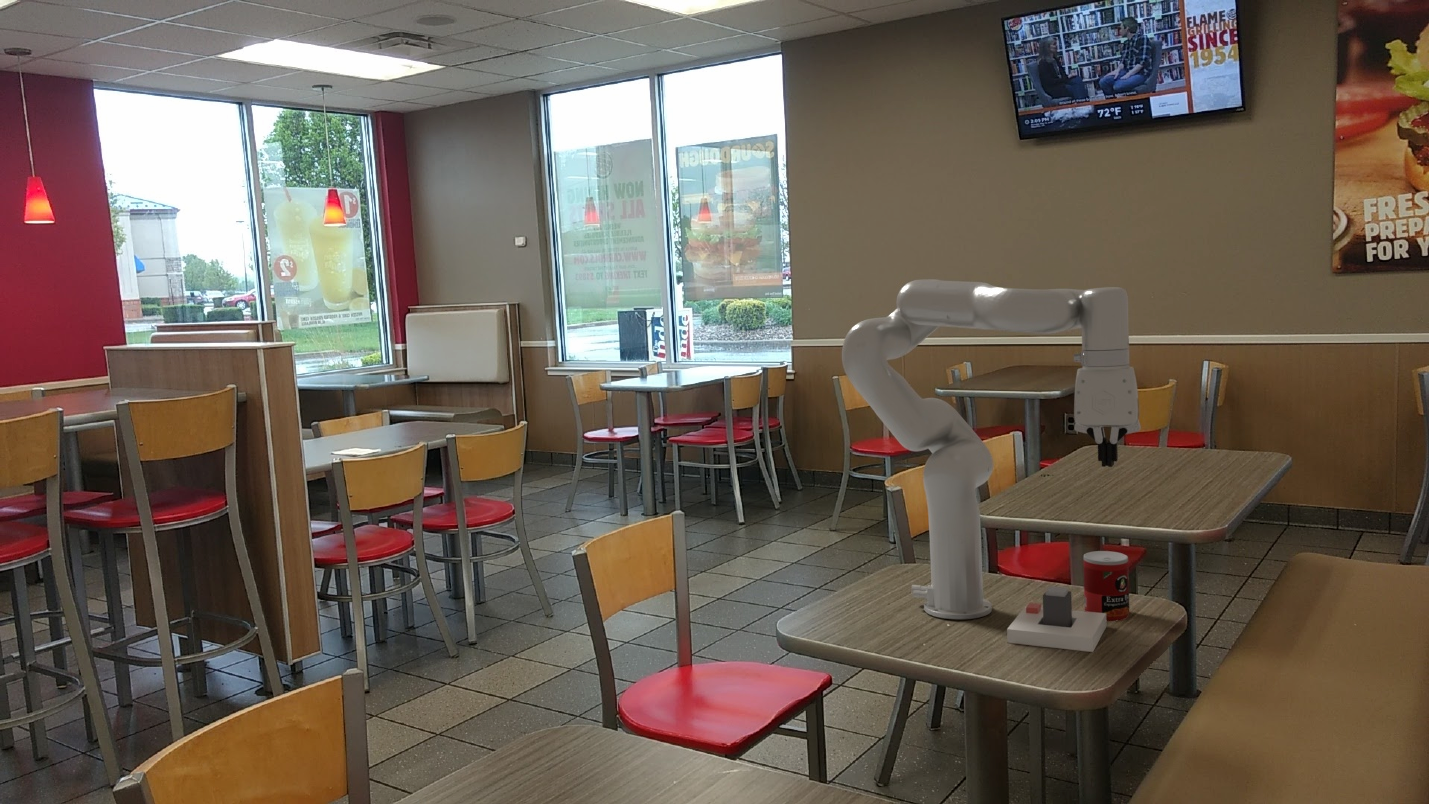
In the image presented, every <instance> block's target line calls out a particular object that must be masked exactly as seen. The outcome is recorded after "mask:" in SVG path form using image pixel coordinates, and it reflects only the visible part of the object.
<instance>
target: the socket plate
mask: <svg viewBox="0 0 1429 804" xmlns="http://www.w3.org/2000/svg"><path fill="white" fill-rule="evenodd" d="M1106 628H1107V621H1106V613H1097V612H1086V611H1085V610H1084V611H1083V610H1074V609H1072V627H1071V628H1070V627H1060V626H1050V625H1044V623H1043V606H1042V603H1038V602H1037V603H1036V602H1029V603H1028V605H1025V606H1024V607H1023V609H1021V611H1020V612H1019V614H1018V615H1017V616H1016V617H1015V619H1013V621H1012V622H1011V623H1010V625H1008V627H1007V628H1006V634H1007V635H1006V636H1007V638H1006V639H1007V642H1006V643H1007V644H1008V643H1009V644H1018V645H1024V646H1025V645H1027V646H1028V645H1029V646H1033V647H1035V646H1036V647H1045V648H1053V649H1060V650H1061V649H1062V650H1063V649H1064V650H1070V651H1071V650H1073V651H1081V652H1090V653H1093V652H1094V650H1095V649H1096V647H1097V645H1098V644H1099V641H1100V640H1101V637H1102V636H1103V634H1104V632H1105V630H1106Z"/></svg>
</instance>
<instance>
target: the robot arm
mask: <svg viewBox="0 0 1429 804" xmlns="http://www.w3.org/2000/svg"><path fill="white" fill-rule="evenodd" d="M1128 296H1129V295H1128V293H1127V291H1126V289H1125V288H1122V287H1120V286H1119V287H1118V286H1116V287H1115V286H1111V287H1110V286H1109V287H1094V288H1088V289H1075V288H1073V289H1072V288H1051V289H1036V288H1035V289H1032V288H1014V287H1013V288H1012V287H1000V286H995V285H992V284H990V283H988V282H981V281H963V280H962V281H957V280H942V279H936V278H930V279H928V278H927V279H915V280H912V281H909V282H907V283H906V284H904V286H902V287H901V288H900V290H899V291H898V293H897V297H896V308H895V309H894V310H893V312H891V313H890V314H889V315H887V316H886V317H885V316H884V317H875V318H868V319H865V320H862V321H859V322H857V323H856V324H855V325H853V326H852V327H851V329H849V331H848V332H847V334H846V335H845V337H844V341H843V342H842V343H843V345H842V349H841V361H842V362H841V363H842V367H843V370H844V373H845V375H846V377H847V379H848V380H849V382H850V384H851V385H852V387H854V389H855V390H856V392H857V393H858V394H859V395H860V396H861V397H862V398H863V399H864V401H865V402H866V403H867V404H868V406H870V408H871V409H872V411H874V413H875V415H876V416H877V417H878V418H879V420H880V421H881V422H882V423H883V424H884V426H885V427H886V428H887V429H888V430H889V431H890V433H891V435H892V436H893V437H894V438H895V439H896V440H897V442H898V443H899V444H900V445H901V446H902V447H903V448H904V449H906V450H908V451H909V452H910V451H911V452H923V451H925V450H929V451H930V452H931V455H930V456H928V459H927V460H926V462H925V465H924V467H923V473H922V476H923V477H922V480H923V481H922V482H923V488H924V492H925V493H924V494H925V498H926V504H927V505H926V506H927V515H928V531H929V532H928V533H929V551H930V552H929V553H930V554H929V556H930V557H929V558H930V579H931V580H930V581H931V582H930V583H931V584H927V586H926V585H919V584H912V585H911V587H910V588H911V589H910V591H911V592H910V593H911V595H913V597H914V598H917V599H918V598H919V599H921V598H923V599H925V601H924V604H923V610H924V611H925V612H926V614H928V615H930V616H933V617H935V618H939V619H948V620H971V619H972V620H973V619H979V618H982V617H986V616H988V615H989V614H990V613H991V612H992V610H993V604H992V603H991V602H990V601H989V600H987V599H986V598H984V590H983V589H984V587H983V586H984V585H983V558H982V557H983V556H982V532H981V531H982V530H981V529H982V528H981V514H980V506H979V501H978V497H977V493H976V488H978V487H979V488H980V486H982V485H984V484H985V483H986V482H987V481H988V480H989V479H990V477H991V476H992V473H993V471H994V459H993V456H992V454H991V451H990V450H989V448H988V447H987V445H986V444H985V443H984V442H983V440H982V439H981V438H980V437H979V435H978V434H977V433H976V432H975V431H974V430H973V428H972V427H971V426H970V425H969V423H968V422H966V420H965V419H964V418H963V417H962V416H961V415H960V413H959V412H958V411H957V410H956V409H955V408H954V407H953V406H952V405H950V403H948V402H947V401H945V400H943V399H940V398H936V397H926V398H922V397H921V396H920V395H919V394H918V393H917V392H916V391H915V390H914V389H913V387H912V386H911V385H910V384H909V382H908V381H907V380H906V379H905V377H903V375H901V373H899V372H898V371H896V369H894V368H893V367H892V366H891V365H890V364H889V362H888V361H891V360H896V359H899V358H901V357H904V356H905V355H907V354H909V353H910V352H911V351H913V350H914V349H915V348H917V346H918V345H920V344H921V343H922V342H924V340H926V339H927V338H928V337H929V336H931V335H932V334H933V333H934V332H935V331H936V330H938V329H939V328H940V327H948V328H949V327H950V328H961V329H973V330H974V329H975V330H983V331H990V330H993V331H1002V332H1003V331H1004V332H1014V333H1028V334H1040V335H1043V334H1045V335H1048V334H1049V335H1051V334H1057V333H1062V332H1068V331H1072V330H1078V329H1081V350H1080V352H1079V353H1073V362H1078V363H1080V364H1081V366H1082V367H1080V368H1078V369H1077V370H1076V377H1075V385H1074V387H1075V388H1074V399H1073V400H1074V404H1073V405H1074V407H1073V416H1074V417H1073V418H1074V422H1075V424H1074V426H1073V427H1074V431H1075V432H1079V433H1083V434H1087V435H1089V437H1091V438H1092V439H1093V440H1094V441H1095V443H1096V444H1097V460H1098V461H1099V462H1101V467H1102V468H1104V467H1108V468H1112V467H1113V466H1114V465H1115V462H1118V460H1119V459H1118V455H1119V454H1118V450H1119V449H1118V442H1119V441H1120V440H1121V439H1122V438H1123V437H1124V436H1125V435H1129V434H1133V433H1134V434H1135V433H1139V432H1140V431H1141V428H1142V426H1141V423H1140V420H1139V419H1140V403H1139V392H1138V383H1137V378H1136V373H1135V369H1134V366H1130V340H1129V339H1130V338H1129V337H1130V336H1129V335H1130V333H1129V330H1130V329H1129V297H1128ZM1104 427H1105V428H1106V427H1107V428H1110V427H1111V429H1110V435H1109V436H1110V438H1109V439H1108V441H1107V438H1106V435H1105V430H1104Z"/></svg>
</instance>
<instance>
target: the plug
mask: <svg viewBox="0 0 1429 804" xmlns="http://www.w3.org/2000/svg"><path fill="white" fill-rule="evenodd" d="M1072 607H1073V605H1072V591H1069V587H1067V586H1066V587H1065V586H1058V585H1057V586H1054V585H1049V586H1048V587H1047V588H1046V589H1045V591H1044V593H1043V595H1042V608H1043V623H1044V625H1050V626H1060V627H1070V628H1071V627H1072V610H1073V608H1072Z"/></svg>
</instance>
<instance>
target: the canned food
mask: <svg viewBox="0 0 1429 804" xmlns="http://www.w3.org/2000/svg"><path fill="white" fill-rule="evenodd" d="M1082 561H1083V566H1082V567H1083V589H1084V590H1083V593H1084V594H1083V595H1084V598H1083V600H1084V611H1086V612H1097V613H1106V620H1107V621H1108V622H1114V621H1115V622H1116V620H1118V621H1122V620H1123V621H1124V620H1126V619H1127V618H1128V617H1129V614H1130V574H1129V573H1130V571H1129V570H1130V567H1129V556H1128V555H1126V554H1124V553H1121V552H1117V551H1109V550H1097V551H1096V550H1095V551H1090V552H1089V551H1088V552H1086V553H1084V554H1083V560H1082ZM1107 621H1106V622H1107Z"/></svg>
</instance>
